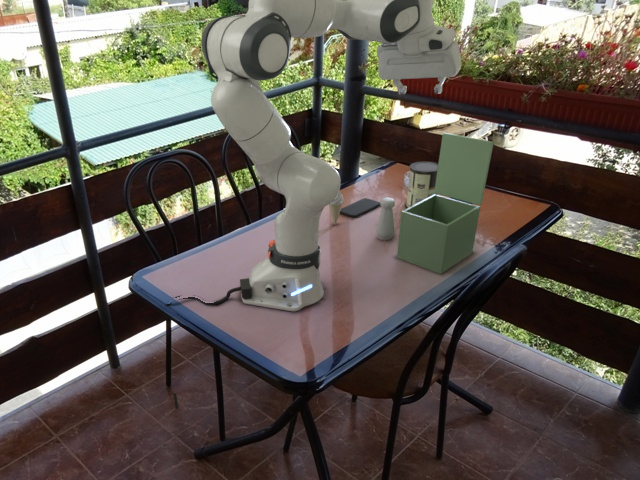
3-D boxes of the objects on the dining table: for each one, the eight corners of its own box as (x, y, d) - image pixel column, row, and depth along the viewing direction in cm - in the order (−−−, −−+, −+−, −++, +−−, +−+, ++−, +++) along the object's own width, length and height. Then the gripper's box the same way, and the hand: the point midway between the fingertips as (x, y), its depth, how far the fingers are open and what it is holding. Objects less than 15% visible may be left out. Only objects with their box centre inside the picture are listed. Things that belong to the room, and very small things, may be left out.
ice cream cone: (333, 219, 190) (334, 177, 182) (345, 223, 187) (347, 181, 178) (324, 225, 187) (325, 182, 179) (336, 228, 184) (337, 185, 176)
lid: (492, 142, 146) (502, 138, 149) (442, 133, 156) (452, 129, 159) (480, 205, 156) (489, 200, 158) (434, 192, 165) (443, 188, 168)
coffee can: (431, 198, 199) (436, 160, 191) (440, 210, 190) (445, 170, 183) (402, 200, 200) (406, 162, 192) (409, 212, 191) (414, 172, 183)
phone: (381, 202, 197) (354, 215, 189) (381, 205, 197) (354, 218, 189) (364, 197, 202) (337, 210, 194) (364, 199, 202) (337, 212, 194)
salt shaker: (394, 242, 173) (397, 203, 166) (375, 241, 174) (378, 202, 167) (393, 233, 178) (397, 195, 171) (375, 233, 179) (378, 195, 172)
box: (440, 274, 155) (447, 226, 147) (396, 257, 165) (401, 211, 157) (472, 253, 164) (480, 206, 156) (428, 238, 174) (434, 193, 166)
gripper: (370, 47, 140) (377, 99, 149) (453, 41, 129) (455, 98, 138) (380, 37, 144) (386, 88, 152) (462, 30, 132) (463, 86, 141)
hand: (420, 93), depth 145 cm, fingers open, 8 cm apart
